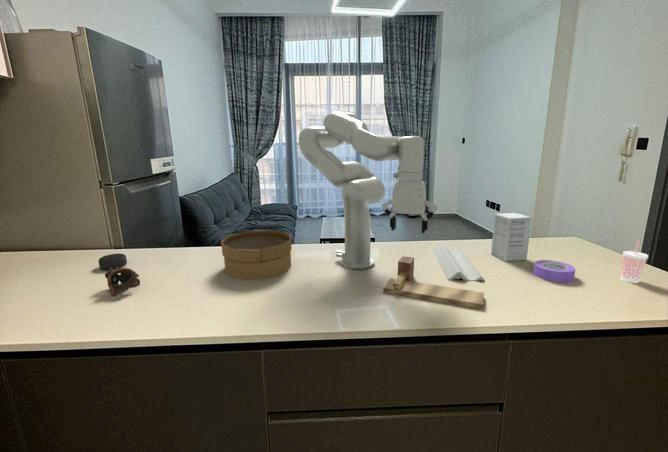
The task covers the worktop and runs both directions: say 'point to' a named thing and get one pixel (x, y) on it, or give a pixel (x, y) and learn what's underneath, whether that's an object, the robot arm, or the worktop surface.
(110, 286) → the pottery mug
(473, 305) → the oak board
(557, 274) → the masking tape
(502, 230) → the supplement box
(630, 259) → the beverage cup
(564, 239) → the worktop surface
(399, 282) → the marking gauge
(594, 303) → the worktop surface
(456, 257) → the crown molding
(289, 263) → the steamer basket
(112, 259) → the smart speaker
